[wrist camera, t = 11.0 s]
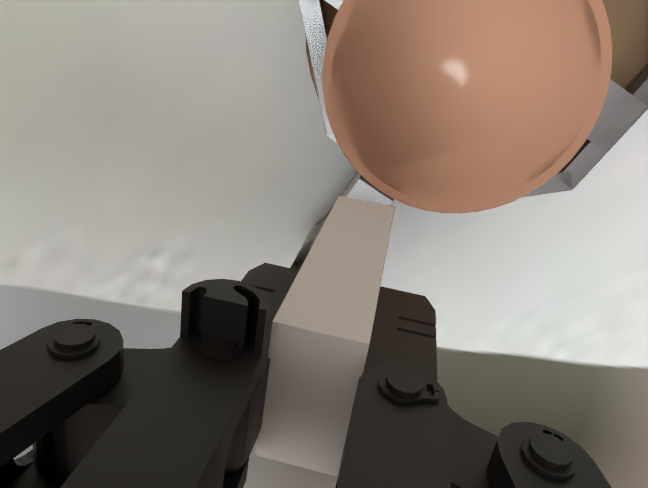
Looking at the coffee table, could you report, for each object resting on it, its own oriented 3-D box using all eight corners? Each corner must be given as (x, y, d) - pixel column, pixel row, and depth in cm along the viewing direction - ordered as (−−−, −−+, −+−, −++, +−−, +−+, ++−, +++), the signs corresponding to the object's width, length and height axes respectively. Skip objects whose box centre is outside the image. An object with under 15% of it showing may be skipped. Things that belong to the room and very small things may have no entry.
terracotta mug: (416, 170, 30) (413, 256, 19) (300, -11, 27) (217, -34, 16) (564, 81, 27) (663, 120, 16) (449, -133, 24) (471, -263, 13)
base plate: (244, 59, 29) (240, 60, 29) (477, -293, 22) (478, -301, 22) (482, 258, 31) (483, 262, 31) (766, -6, 24) (774, -6, 24)
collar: (430, 331, 33) (432, 387, 28) (201, 178, 32) (158, 207, 27) (763, -31, 23) (859, -47, 18) (451, -274, 22) (460, -365, 17)
